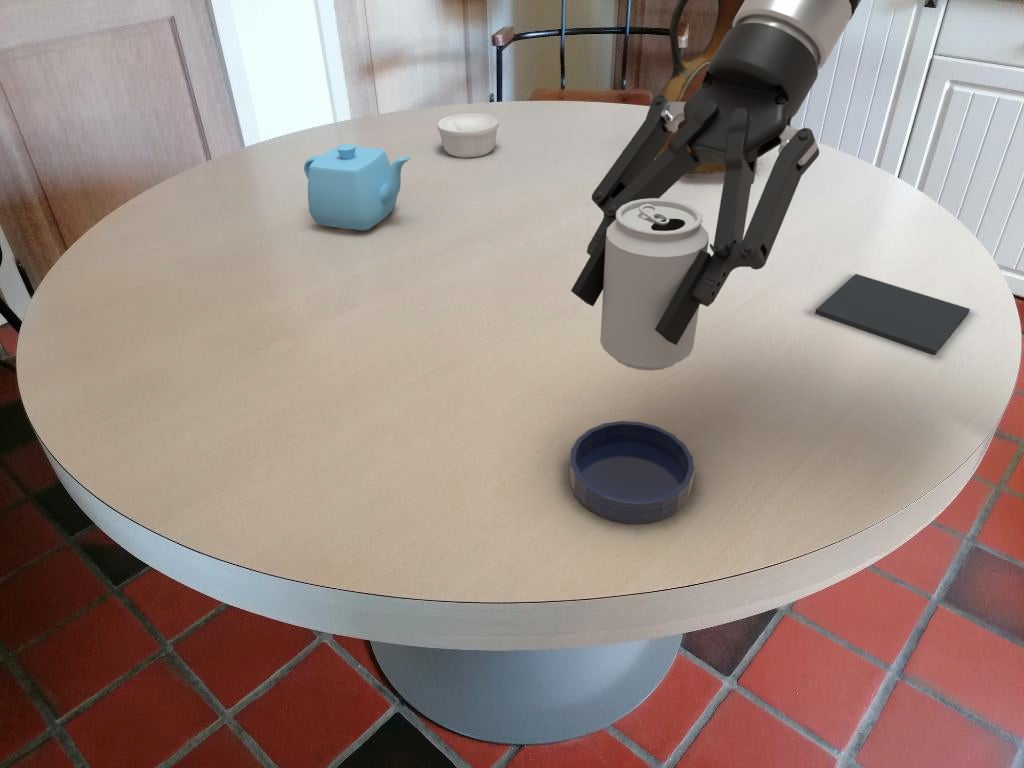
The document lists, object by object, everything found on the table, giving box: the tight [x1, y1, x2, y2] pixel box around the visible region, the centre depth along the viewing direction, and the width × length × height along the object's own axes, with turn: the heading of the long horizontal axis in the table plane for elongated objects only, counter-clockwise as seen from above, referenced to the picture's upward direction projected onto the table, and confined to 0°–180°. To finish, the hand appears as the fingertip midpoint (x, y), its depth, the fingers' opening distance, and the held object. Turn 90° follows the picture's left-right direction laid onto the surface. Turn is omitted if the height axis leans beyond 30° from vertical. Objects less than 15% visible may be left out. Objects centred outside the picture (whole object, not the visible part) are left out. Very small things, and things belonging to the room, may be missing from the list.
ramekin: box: [437, 112, 499, 159], centre depth 141 cm, size 11×11×5 cm
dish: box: [569, 420, 695, 525], centre depth 68 cm, size 11×11×2 cm
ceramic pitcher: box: [654, 0, 745, 175], centre depth 124 cm, size 20×20×30 cm
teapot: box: [303, 143, 412, 232], centre depth 114 cm, size 12×18×12 cm
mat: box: [814, 273, 971, 355], centre depth 92 cm, size 14×12×1 cm
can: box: [599, 198, 710, 372], centre depth 58 cm, size 8×8×12 cm
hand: (622, 317), depth 57 cm, fingers closed on can, 7 cm apart
